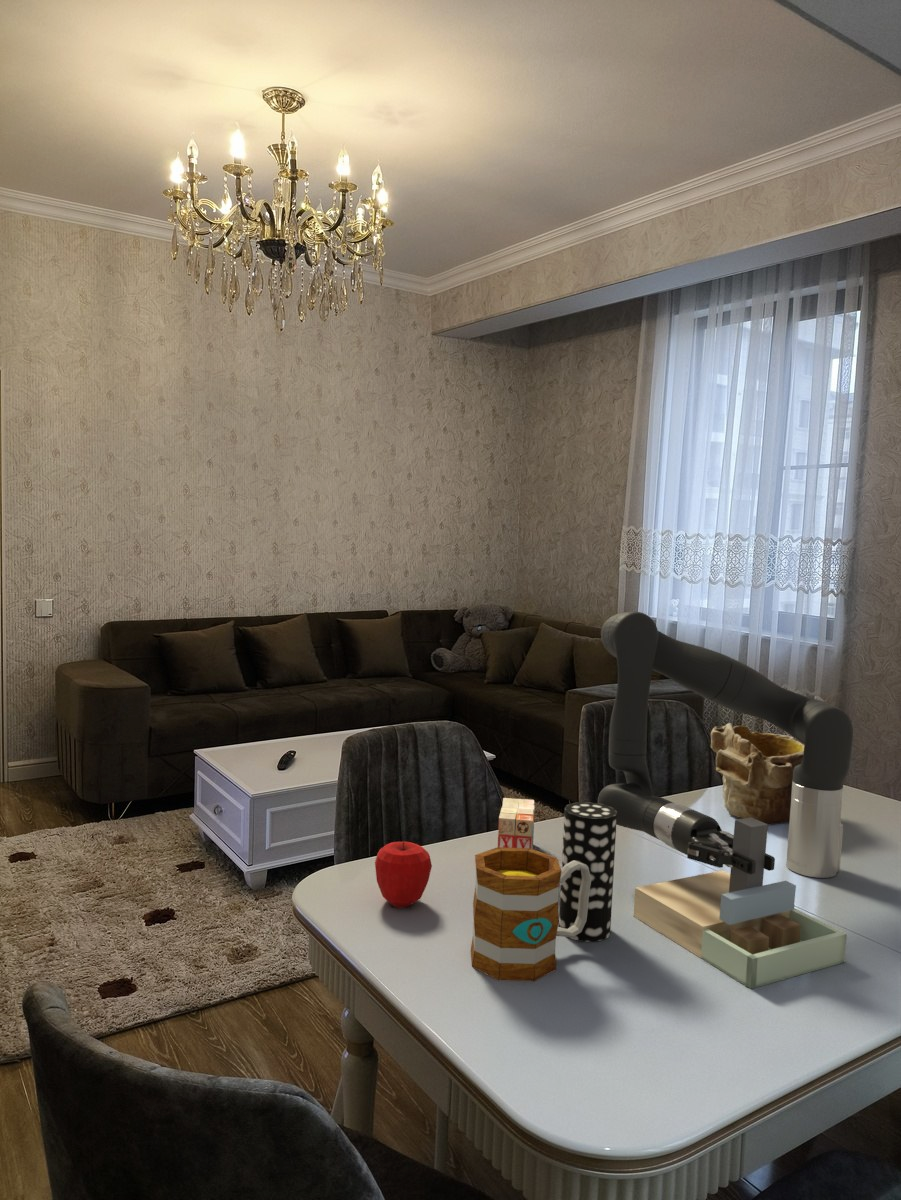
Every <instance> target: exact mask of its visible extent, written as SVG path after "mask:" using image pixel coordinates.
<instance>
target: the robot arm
mask: <svg viewBox="0 0 901 1200" xmlns="http://www.w3.org/2000/svg"><path fill="white" fill-rule="evenodd" d="M600 637H601V642H602V645H603V646H604V648H605V650H606V651H607V652H608V653H609V654H610V655H611V656H612V657H614V658H616V662H617V686H616V694H615V698H614V701H613V702H614V703H613V708H612V710H611V711H612V712H611V716H610V722H609V729H608V731H609V732H608V764H609V766H610V768H611V769H613V770H614V771H615V770H616V771H619V772H623V774H624V777H625V780H626V783H613V784H612V783H611V784H609V785H606V786H604V787H603V788H602V789H601V790H600V791H599V794H598V796H597V803H598V804H603V805H607V806H609V807H612V808H613V809H615V810H616V811H617V822H616V826H619V827H623V828H627V829H631V830H634V831H635V830H636V831H639V832H642V833H643V832H644V833H646V834H647V835H649V836H650V837H653V838H655V839H657V840H660V841H661V842H662V843H664V845H666V846H668V847H670V848H671V849H674V850H675V851H677V852H680V853H682V854H684V855H686V857H687V859H689V860H692V861H695V862H699V863H702V864H707V865H710V866H712V867H715V868H724V866H725V867H728V868H731V867H735V868H738V869H740V870H742V871H744V872H746V873H748V874H754V873H755V869H756V862H755V860H753V859H751V858H748V857H746V856H744V855H742V854H739V853H735V851H734V850H732V849H733V838H734V834H732V833H730V832H728V831H724V830H723V829H722V827H721V826H720V824H719V822H718V821H717V820H716V819H715V818H713V817H712V816H709V815H707V814H704V813H702V812H700V811H697V810H695V809H692V808H691V807H689V806H686V805H682V804H678V803H675V802H673V801H671V800H668V799H667V798H666V799H665V798H663V797H660V796H656V795H654V790H653V785H652V782H651V781H652V780H651V777H650V772H649V768H648V764H647V739H648V738H647V735H648V732H647V731H648V711H649V710H648V709H649V708H648V707H649V699H650V689H651V681H652V675H653V671H654V672H656V673H659V674H660V675H663V676H664V677H666V678H668V679H669V680H672V681H673V682H675V683H677V684H678V685H680V686H682V687H683V688H685V689H687V690H688V691H690V692H692V693H695V694H696V695H699V696H700V697H702V698H704V699H706V700H708V701H711V702H712V703H714V704H717V705H719V706H721V707H723V708H726V709H728V710H731V711H734V712H737V713H741V714H744V715H748V716H750V717H755V718H758V719H761V720H763V721H766V722H768V723H770V724H772V725H774V726H776V727H778V728H779V729H781V730H782V731H783V732H786V734H789V736H791V737H794V739H795V740H797V741H798V742H800V743H802V744H804V753H803V760H802V763H801V764H799V765H797V766H795V767H794V770H793V779H792V793H791V808H790V821H789V822H788V823H789V824H788V837H787V849H786V850H787V851H786V863H785V864H786V867H787V868H788V869H789V870H790V871H792V872H793V873H796V874H799V875H802V876H805V877H810V878H811V877H812V878H816V879H817V878H818V879H820V878H821V879H827V878H832V877H835V876H836V875H837V872H840V869H841V857H842V846H843V845H842V843H843V834H844V833H843V832H844V825H843V823H841V821H842V820H841V819H842V810H843V809H842V808H843V793H844V781H845V779H846V777H847V776H848V773H849V770H850V765H851V756H852V748H853V739H854V738H853V737H854V728H853V723H852V719H851V717H850V716H849V715H848V713H847V712H846V711H844V710H843V709H842V708H839V707H837V706H834V705H833V704H830V703H828V702H825V701H822V700H821V699H816V698H812V697H809V696H805V695H802V694H800V693H797V692H794V691H792V690H789V689H786V688H784V687H782V686H780V685H778V684H776V683H775V682H773V681H772V680H770V679H769V678H767V676H765V675H763V674H762V673H760V672H758V670H756V669H754V668H752V667H750V666H749V665H747V664H745V663H744V662H741V661H739V660H737V659H734V658H732V657H730V656H728V655H726V654H723V653H721V652H719V651H715V650H713V649H709V648H706V647H703V646H698V645H695V644H692V643H689V642H684V641H682V640H678V639H675V638H672V637H671V636H669V635H666V634H665V633H663V632H661V631H659V630H658V627H657V624H656V622H655V621H654V620H653V618H651V617H650V615H649V614H648V615H647V614H646V613H644V612H641V611H627V612H625V611H623V612H620V613H616V614H614V615H612V616H611V617H609V618H608V619H606V621H604V623H603V625H602V626H601V629H600ZM775 860H776V859H775V857H774V856H773V855H771V854H768V853H766V852H765V861H764V870H767V871H769V872H770V871H773V870H774V869H775Z"/></svg>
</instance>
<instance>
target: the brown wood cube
mask: <svg viewBox="0 0 901 1200" xmlns="http://www.w3.org/2000/svg"><path fill="white" fill-rule="evenodd" d="M762 933H763V934H764V935H766V936H768V937H769V944H768V947H769V948H771V949H776V948H779V947H783V946H787V945H791V944H795V943H798V942H800V934H801V925H800V924H798V923H796V922H794V921H792V920H790V919H788V918H786V917H784V916H782V915H778V916H774V917H770V918H765V919H763V928H762Z"/></svg>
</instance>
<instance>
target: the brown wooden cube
mask: <svg viewBox="0 0 901 1200" xmlns="http://www.w3.org/2000/svg"><path fill="white" fill-rule="evenodd" d="M729 941H730V942H732V943H733V944H735V945H737V946H739V947H740V948H742V949H744V950H745V951H747V952H749V953H751V954H752V955H753V954H756V953H760V952H764V951H768V944H769V937H768V936H766V935H764V934H763V933H761V932H759V931H758V930H756V929H754V928H753V927H751V926H749V927H743V928H738V929H732V930H730V938H729Z"/></svg>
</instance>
